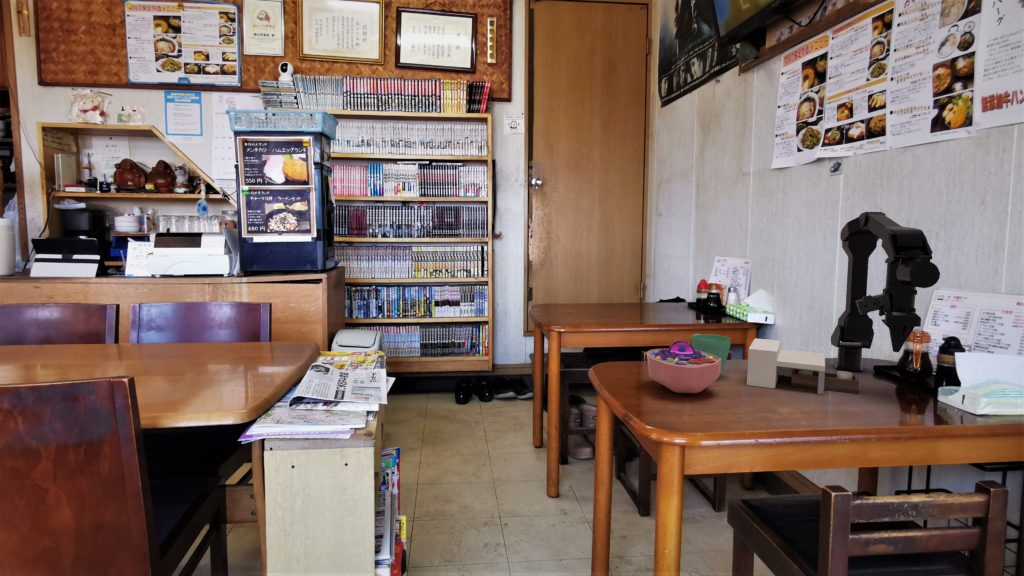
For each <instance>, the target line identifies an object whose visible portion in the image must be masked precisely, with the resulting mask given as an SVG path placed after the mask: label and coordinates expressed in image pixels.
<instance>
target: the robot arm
mask: <svg viewBox="0 0 1024 576" xmlns="http://www.w3.org/2000/svg"><path fill="white" fill-rule="evenodd" d="M839 237H840V241H841V248H842V249H843V251H844V252H845V254H846V256H847V258H848V259H847V271H846V272H847V274H846V275H847V277H846V293H845V310H844V311H843V312H842V314H841V315H840V316H839V317H838V319H837V325H836V326H835V328H834V330H833V332H832V333H831V335H830V345H831V346H833V347H835V348H838V349H837V360H836V361H837V362H834V363H835V364H834V366H835V369H836V370H840V371H849V372H850V371H851V372H852V371H853V372H861V373H862V372H864V368H863V365H862V356H863V349H869V350H871V347H872V345H873V341H874V337H875V336H874V335H875V331H874V328H873V326H874V320H873V318H871V317H870V316H869V314H868V313H872V312H875V311H878V316H879V317H883V316H884V319H883V318H882V319H880V320H881V322H882V323H883V324H884V325H885V326H886V327H887V328H888V330H889V331H888V332H889V337H890V342H891V343H890V344H891V348H892V352H893V353H900V351H901V349H902V347H904V344H905V343H906V342H907V340H908V338H909V337H910V335H911V334H912V332H913V330H914V329H915V328H918V327H919V328H920V327H921V325H922V317H921V316H920V315H918V314H917V313H916V312H917V311H916V310H917V309H916V308H915V305H916V296H917V295H918V290H917V288H921V289H927V288H931V287H933V286H935V285H936V284H937V283H938V281H939V280H940V277H941V271H940V270H939V267H938V266H937V265H936V264H935V263H934V262H933V261H932V260H933V253H934V252H933V250H932V248H931V246H930V244H929V241H928V239H927V238H928V237H927V236H926V235H925V232H924V231H923V230H922V229H920V228H916V227H907V226H902V225H900V224H899V223H898V222H896V221H894V219H892V218H889V217H888V216H887V215H886V213H885V212H882V211H865V212H861V213H860V214H859V215H858V217H856V218H853V219H851V220H850V221H847V222H846V223H845V224H844V226H843V227H842V228H841V231H840V236H839ZM879 240H881V248H882V249H883V250H884V252H885V254H886V256H887V258H886V259H884V263H885V264H886V275H885V287H884V288H882V293H879V294H876V295H872V294H868V274H869V259H870V257H871V255H872V254H873V253H874V252H875V250H876V249H877V245H878V241H879Z"/></svg>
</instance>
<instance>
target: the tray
mask: <svg viewBox="0 0 1024 576" xmlns="http://www.w3.org/2000/svg"><path fill="white" fill-rule="evenodd" d="M818 377H819V372H818V371H813V370H808V369H799V368H798V369H793V371H792V376H791V387H797V388H807V389H814V390H818ZM859 386H860V380H859V376H858V375H854V374H853V373H852V372H850V371H846V370H839V371H837V372H836V373H835V372H826V371H825V378H824V391H832V392H839V393H848V394H856V395H858V394H859V390H860V389H859Z"/></svg>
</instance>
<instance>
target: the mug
mask: <svg viewBox="0 0 1024 576" xmlns="http://www.w3.org/2000/svg"><path fill="white" fill-rule="evenodd" d="M690 338H691V339H690V344H691V345H692V346H693V348H694V349H695V350H699V351H704V352H708V353H711V354H713V355H715V356H717V357H719V358H721V369H720V375H719V377H720V376H721V373H722V371H723V369H724V367H725V365H726V362H727V359H728V355H729V352H730V348H731V343H732V339H731V338H730V337H728V336H724V335H718V334H704V333H703V334H700V333H694V334H692V335H691V337H690Z"/></svg>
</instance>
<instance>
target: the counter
mask: <svg viewBox="0 0 1024 576" xmlns="http://www.w3.org/2000/svg"><path fill="white" fill-rule="evenodd" d="M781 343H782V341H781V340H776V339H766V338H765V339H764V338H757V337H756V338H754V339H753V340H752V342H751V344H750V346H749V347H748V354H747V355H748V356H747V375H746V386H753V387H754V386H755V387H760V388H770V389H776V385H777V382H778V379H779V376H783V375H784V377H792V371H793V369H798V368H799V369H808V370H813V371H818V372H819V377H818V389H817V394H818V395H824V392H825V390H824V378H825V372H826V357H825V353H824V352H823V353H822V352H813V351H803V350H802V351H801V350H791V349H781V345H782V344H781Z"/></svg>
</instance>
